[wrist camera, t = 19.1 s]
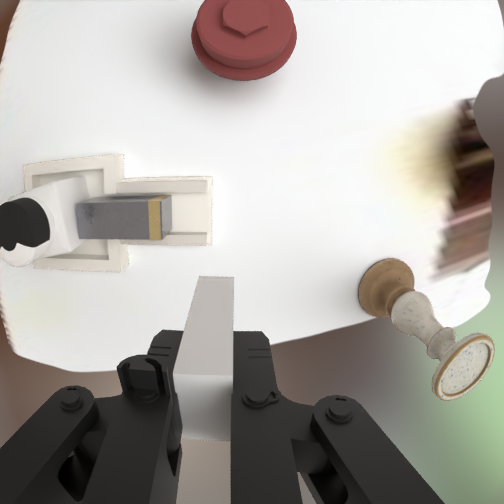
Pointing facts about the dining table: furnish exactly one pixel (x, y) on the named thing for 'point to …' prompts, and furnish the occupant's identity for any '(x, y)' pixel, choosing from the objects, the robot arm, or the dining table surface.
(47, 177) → the dock socket
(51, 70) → the dining table surface
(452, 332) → the candle holder
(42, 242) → the container
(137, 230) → the grey rectangular block
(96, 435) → the robot arm
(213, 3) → the mechanical component
